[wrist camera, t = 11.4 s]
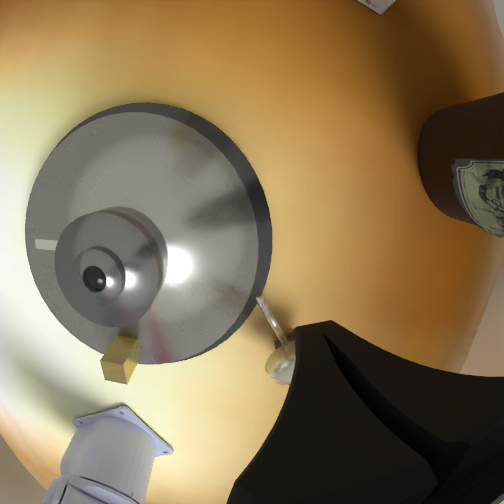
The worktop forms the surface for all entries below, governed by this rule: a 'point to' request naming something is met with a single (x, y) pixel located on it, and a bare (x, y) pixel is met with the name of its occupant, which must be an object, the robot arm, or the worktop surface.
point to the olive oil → (466, 162)
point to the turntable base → (246, 177)
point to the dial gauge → (279, 350)
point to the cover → (111, 265)
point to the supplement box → (377, 5)
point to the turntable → (168, 222)
